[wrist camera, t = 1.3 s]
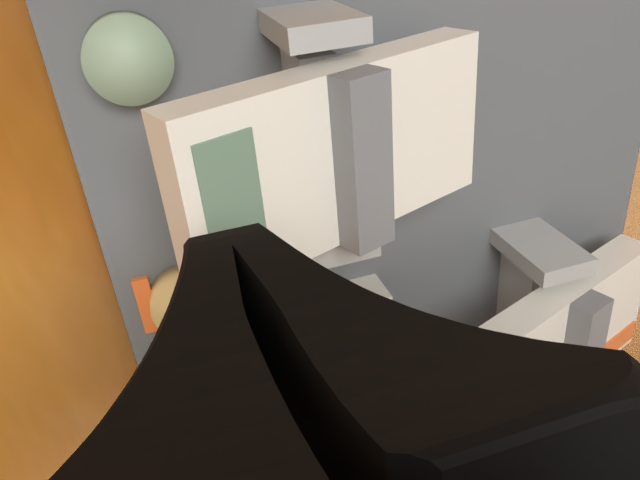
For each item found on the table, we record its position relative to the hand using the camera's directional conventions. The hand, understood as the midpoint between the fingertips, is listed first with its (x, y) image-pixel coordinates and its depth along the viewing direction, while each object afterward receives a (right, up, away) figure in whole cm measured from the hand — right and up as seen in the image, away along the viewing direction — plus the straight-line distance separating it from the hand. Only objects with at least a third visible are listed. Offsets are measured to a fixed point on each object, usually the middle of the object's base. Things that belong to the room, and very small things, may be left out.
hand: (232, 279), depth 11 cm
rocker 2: (+10, -3, +11) cm, 15 cm away
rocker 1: (+2, +3, +5) cm, 6 cm away
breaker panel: (+4, 0, +12) cm, 13 cm away
